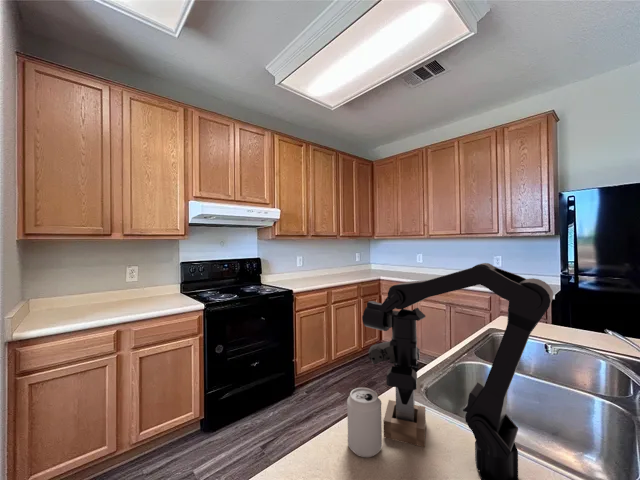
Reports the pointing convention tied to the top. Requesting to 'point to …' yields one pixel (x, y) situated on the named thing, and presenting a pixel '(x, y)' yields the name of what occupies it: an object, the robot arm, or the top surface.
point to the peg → (405, 408)
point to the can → (364, 422)
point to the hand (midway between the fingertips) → (405, 399)
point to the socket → (405, 426)
